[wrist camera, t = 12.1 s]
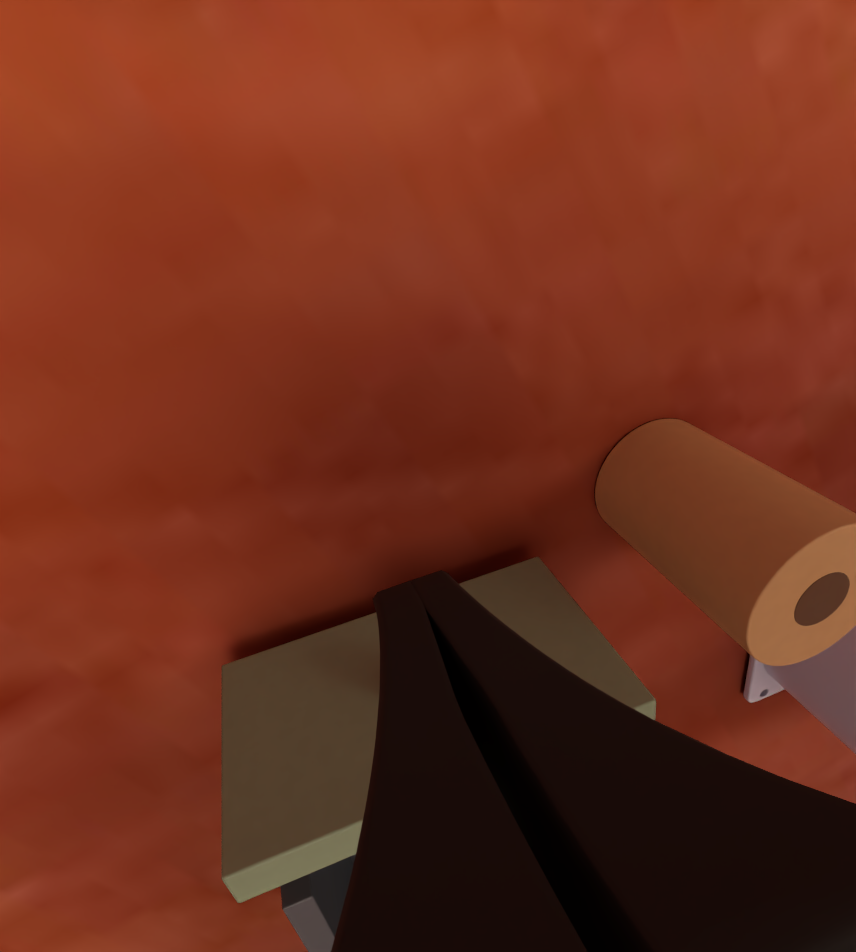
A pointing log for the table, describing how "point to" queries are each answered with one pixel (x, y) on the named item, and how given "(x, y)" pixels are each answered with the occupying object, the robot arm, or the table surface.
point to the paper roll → (735, 538)
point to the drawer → (354, 741)
